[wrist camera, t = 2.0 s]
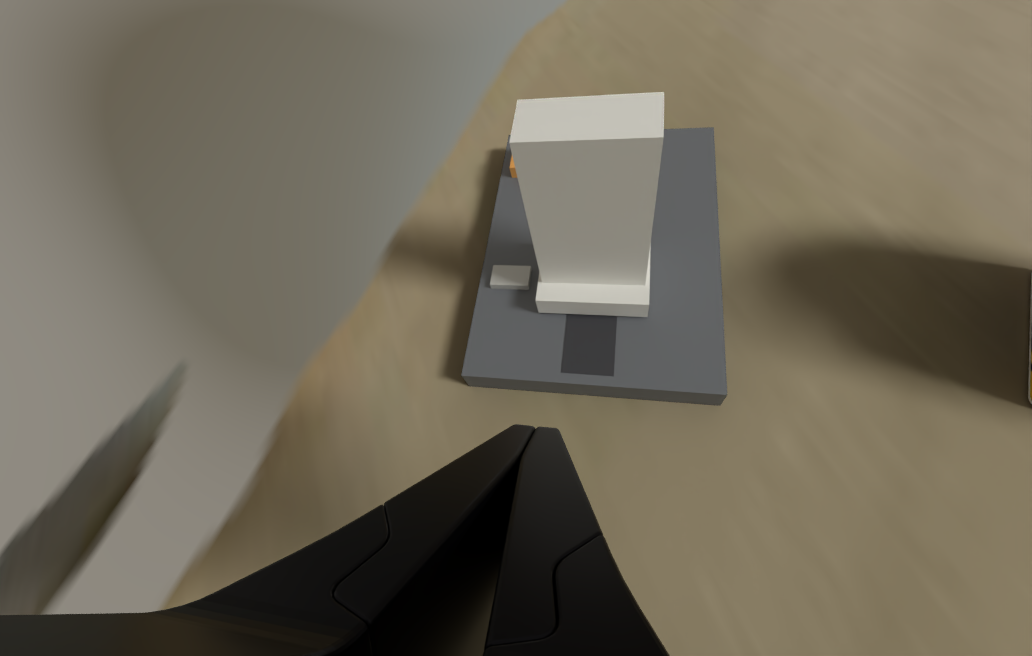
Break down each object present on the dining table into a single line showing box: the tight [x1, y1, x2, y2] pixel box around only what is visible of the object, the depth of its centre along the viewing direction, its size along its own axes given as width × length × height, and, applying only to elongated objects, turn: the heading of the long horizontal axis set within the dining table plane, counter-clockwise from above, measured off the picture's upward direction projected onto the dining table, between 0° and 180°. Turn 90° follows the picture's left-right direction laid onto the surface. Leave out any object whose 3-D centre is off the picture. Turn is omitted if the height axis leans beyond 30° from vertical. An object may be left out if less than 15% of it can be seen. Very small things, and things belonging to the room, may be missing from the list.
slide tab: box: [509, 92, 664, 317], centre depth 20 cm, size 4×5×10 cm
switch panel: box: [461, 127, 727, 405], centre depth 26 cm, size 16×12×2 cm
